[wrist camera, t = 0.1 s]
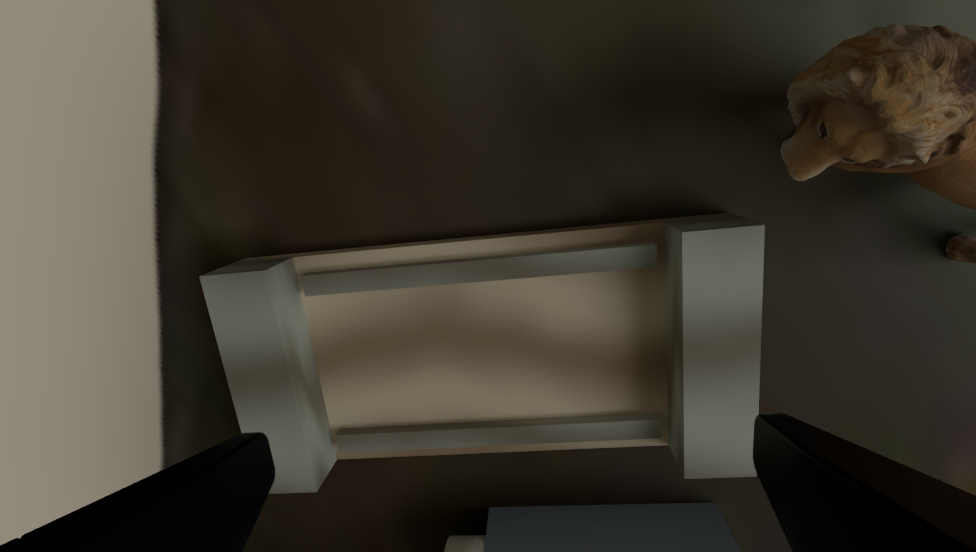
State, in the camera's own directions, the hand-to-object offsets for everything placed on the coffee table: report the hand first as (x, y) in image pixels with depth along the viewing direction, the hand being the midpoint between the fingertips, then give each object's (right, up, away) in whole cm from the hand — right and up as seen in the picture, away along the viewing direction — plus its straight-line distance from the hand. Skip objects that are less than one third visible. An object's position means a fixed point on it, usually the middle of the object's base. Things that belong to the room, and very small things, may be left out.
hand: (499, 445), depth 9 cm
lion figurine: (+16, +8, +12) cm, 21 cm away
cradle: (0, 0, +15) cm, 15 cm away
